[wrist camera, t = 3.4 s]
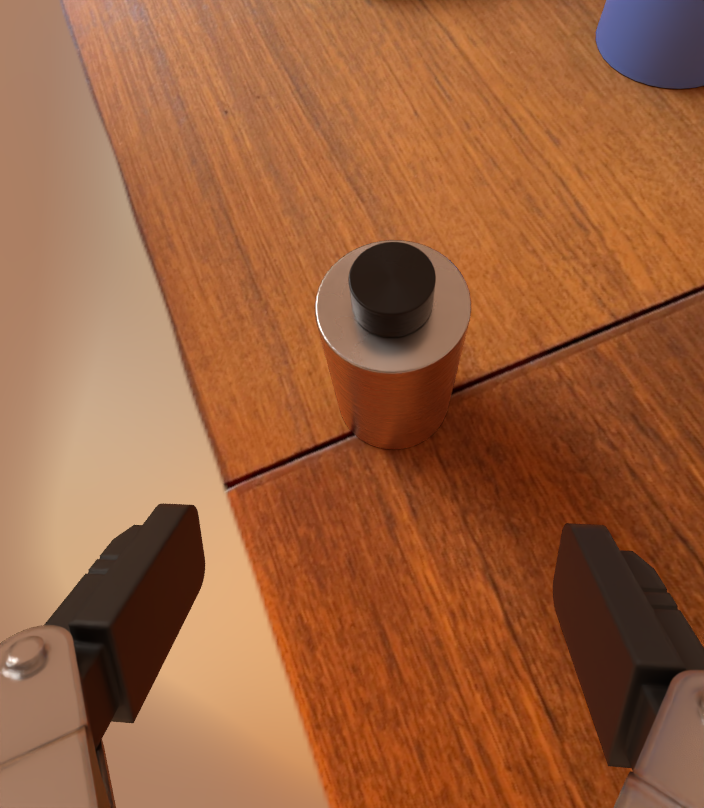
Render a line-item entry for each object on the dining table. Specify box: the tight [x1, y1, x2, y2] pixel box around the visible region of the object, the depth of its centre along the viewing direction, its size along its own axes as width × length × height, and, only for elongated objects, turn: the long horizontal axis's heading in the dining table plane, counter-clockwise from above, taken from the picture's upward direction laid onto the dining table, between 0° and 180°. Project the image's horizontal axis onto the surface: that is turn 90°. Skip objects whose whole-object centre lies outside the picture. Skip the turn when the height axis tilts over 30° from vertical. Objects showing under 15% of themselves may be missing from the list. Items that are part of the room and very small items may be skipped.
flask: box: [315, 240, 471, 449], centre depth 22 cm, size 5×5×10 cm
